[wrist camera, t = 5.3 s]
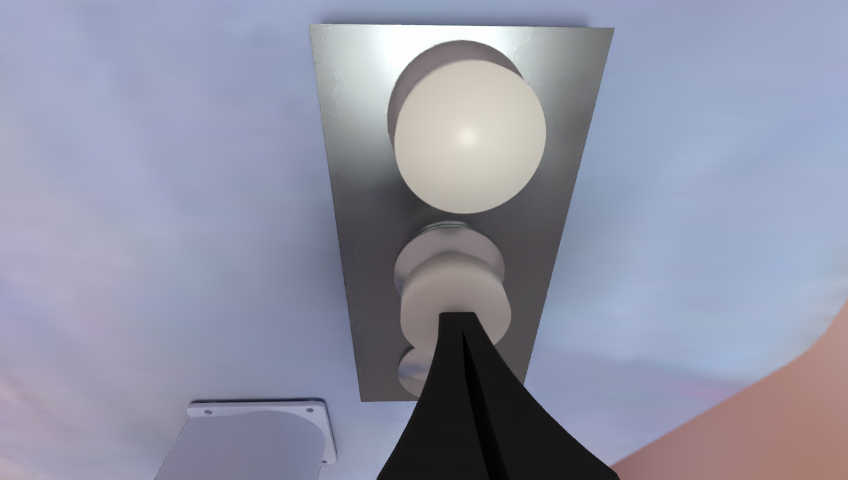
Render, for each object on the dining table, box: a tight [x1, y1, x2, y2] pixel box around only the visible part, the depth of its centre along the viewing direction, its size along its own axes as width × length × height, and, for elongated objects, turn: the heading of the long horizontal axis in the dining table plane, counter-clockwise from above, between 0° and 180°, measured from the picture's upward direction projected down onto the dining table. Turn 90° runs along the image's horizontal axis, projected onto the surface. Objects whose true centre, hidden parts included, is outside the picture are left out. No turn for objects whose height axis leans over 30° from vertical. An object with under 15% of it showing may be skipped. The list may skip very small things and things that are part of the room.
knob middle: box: [400, 253, 511, 356], centre depth 15 cm, size 4×4×3 cm
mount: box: [309, 24, 615, 402], centre depth 17 cm, size 10×20×2 cm, turn 179°
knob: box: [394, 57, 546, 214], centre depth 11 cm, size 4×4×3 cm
